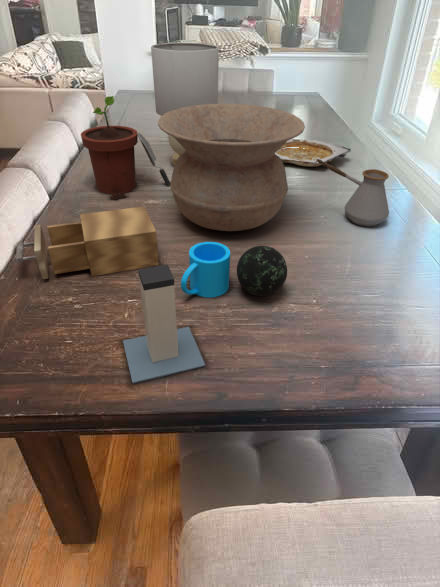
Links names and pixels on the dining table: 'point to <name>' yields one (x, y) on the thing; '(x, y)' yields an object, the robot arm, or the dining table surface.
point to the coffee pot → (366, 197)
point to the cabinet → (119, 240)
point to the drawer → (57, 249)
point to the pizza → (310, 152)
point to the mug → (207, 270)
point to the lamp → (184, 79)
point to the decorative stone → (261, 270)
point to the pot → (230, 163)
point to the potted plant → (115, 156)
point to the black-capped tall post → (159, 312)
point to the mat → (147, 370)
